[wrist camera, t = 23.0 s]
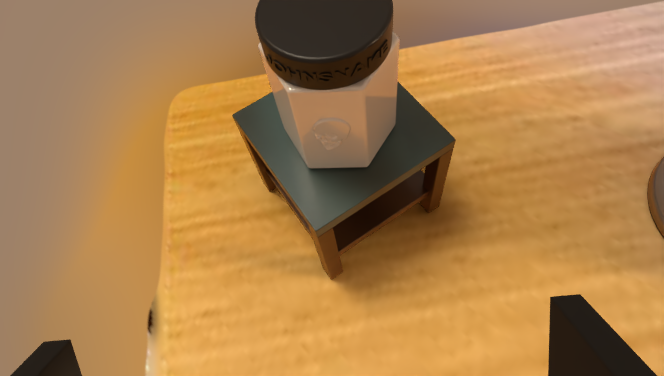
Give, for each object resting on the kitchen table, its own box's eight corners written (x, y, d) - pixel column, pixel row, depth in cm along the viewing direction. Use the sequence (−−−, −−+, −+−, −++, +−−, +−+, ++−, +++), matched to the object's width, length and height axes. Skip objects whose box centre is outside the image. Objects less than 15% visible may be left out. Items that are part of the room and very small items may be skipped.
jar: (280, 172, 36) (238, 65, 26) (288, 89, 40) (254, -35, 30) (397, 170, 36) (403, 58, 25) (394, 85, 39) (398, -44, 29)
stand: (363, 121, 53) (358, 41, 42) (439, 206, 47) (456, 139, 36) (263, 182, 50) (231, 114, 39) (331, 280, 44) (315, 231, 34)
